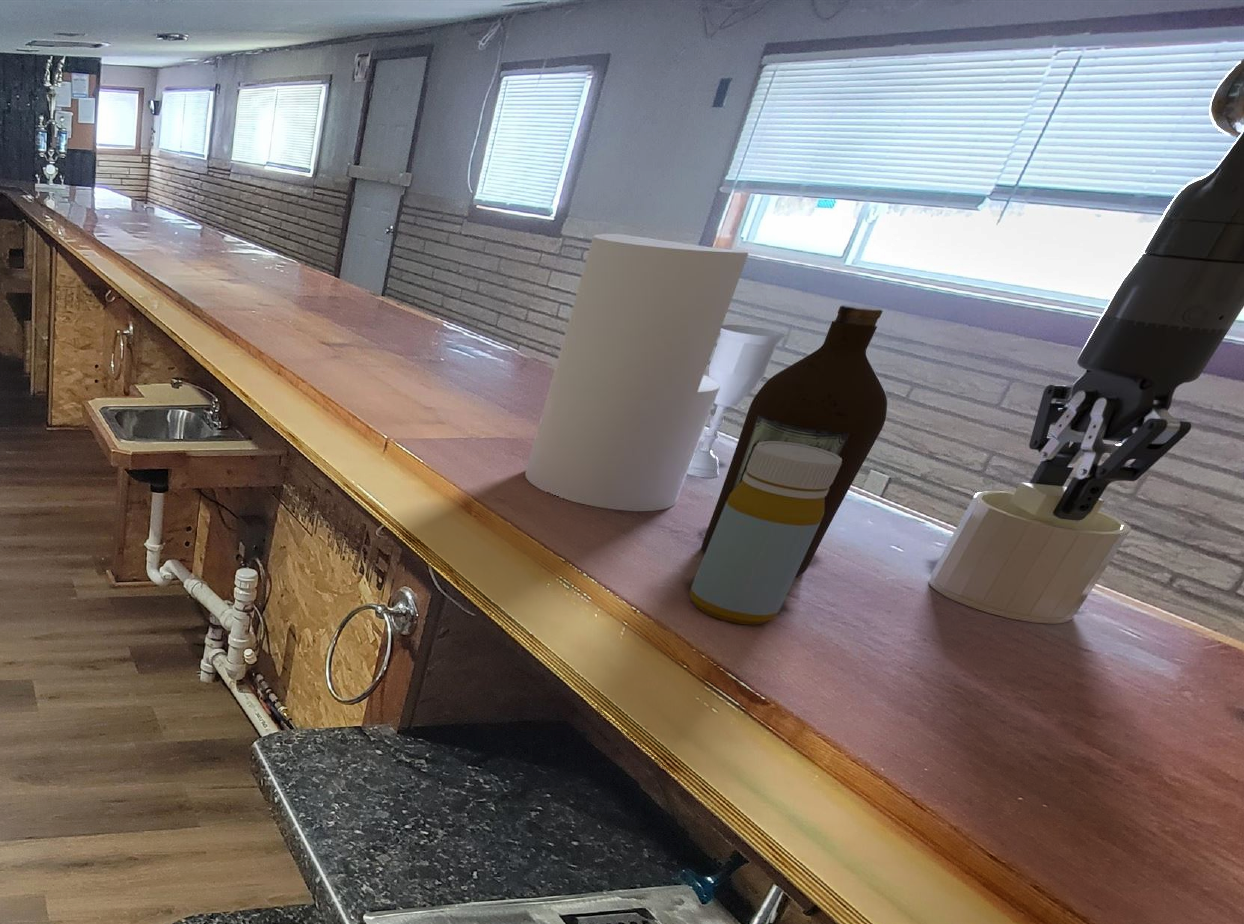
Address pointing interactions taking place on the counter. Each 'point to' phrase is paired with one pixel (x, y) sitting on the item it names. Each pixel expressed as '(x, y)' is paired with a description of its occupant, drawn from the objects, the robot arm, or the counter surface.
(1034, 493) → the cream block
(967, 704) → the counter surface
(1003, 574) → the cream round pot
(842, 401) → the olive oil
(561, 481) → the cylinder
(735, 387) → the chalice
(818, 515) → the bottle
